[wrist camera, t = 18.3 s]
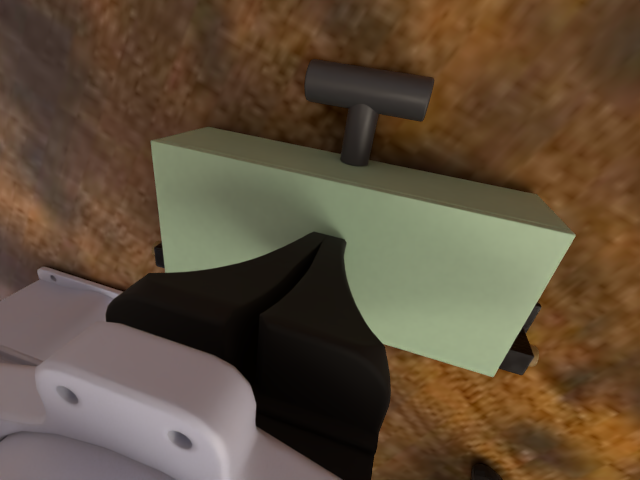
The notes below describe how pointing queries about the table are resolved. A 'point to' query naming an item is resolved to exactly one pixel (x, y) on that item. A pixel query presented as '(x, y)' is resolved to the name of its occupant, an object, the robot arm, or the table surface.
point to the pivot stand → (513, 361)
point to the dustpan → (367, 221)
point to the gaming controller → (484, 473)
